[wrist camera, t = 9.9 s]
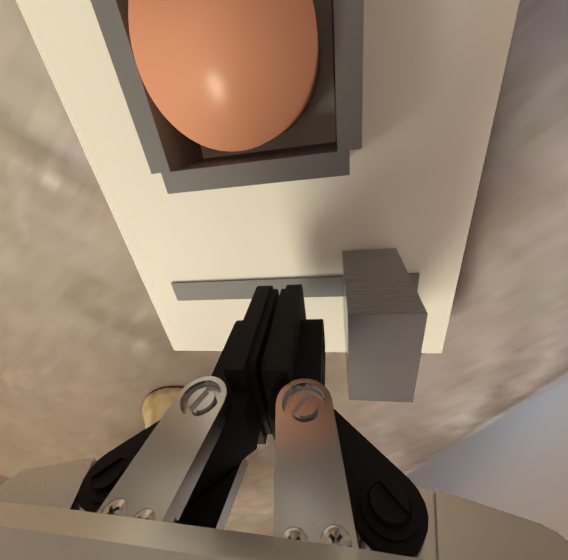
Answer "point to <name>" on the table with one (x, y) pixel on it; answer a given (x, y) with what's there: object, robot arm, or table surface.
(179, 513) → the robot arm
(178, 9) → the terracotta button
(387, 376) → the block
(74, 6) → the control panel
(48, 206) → the table surface
